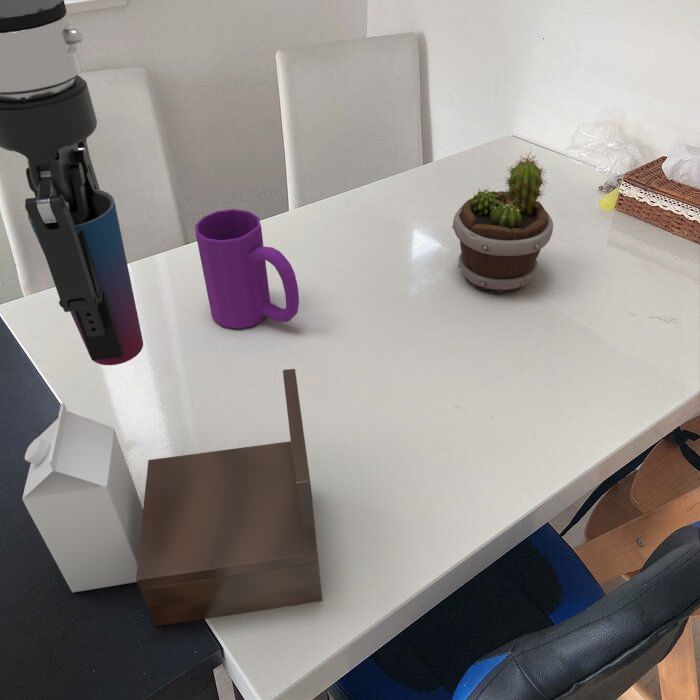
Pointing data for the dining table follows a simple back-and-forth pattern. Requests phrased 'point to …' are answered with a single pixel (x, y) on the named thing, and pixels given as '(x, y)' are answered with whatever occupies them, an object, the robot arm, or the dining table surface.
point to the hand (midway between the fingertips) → (111, 333)
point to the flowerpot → (504, 231)
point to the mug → (242, 270)
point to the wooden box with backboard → (230, 529)
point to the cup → (111, 275)
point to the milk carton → (84, 502)
